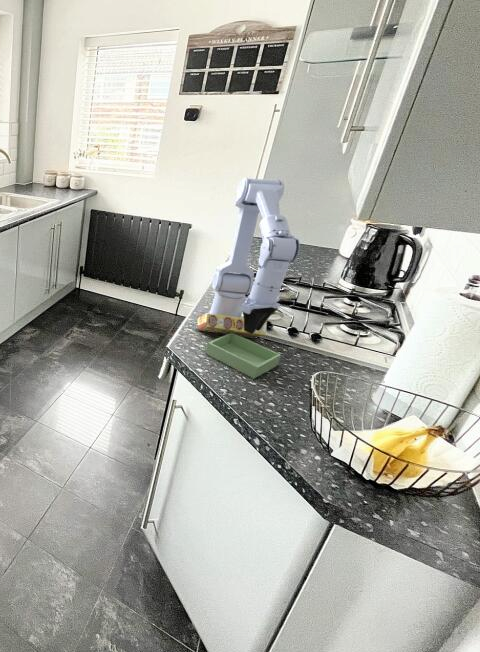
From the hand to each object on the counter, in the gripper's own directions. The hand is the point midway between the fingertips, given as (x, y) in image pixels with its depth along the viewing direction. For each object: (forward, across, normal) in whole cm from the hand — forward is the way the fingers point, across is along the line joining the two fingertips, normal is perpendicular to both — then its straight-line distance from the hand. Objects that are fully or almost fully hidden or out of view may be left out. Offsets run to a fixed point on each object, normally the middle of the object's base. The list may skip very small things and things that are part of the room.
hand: (251, 330), depth 111 cm
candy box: (+5, +12, +2) cm, 13 cm away
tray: (+9, -1, 0) cm, 9 cm away
